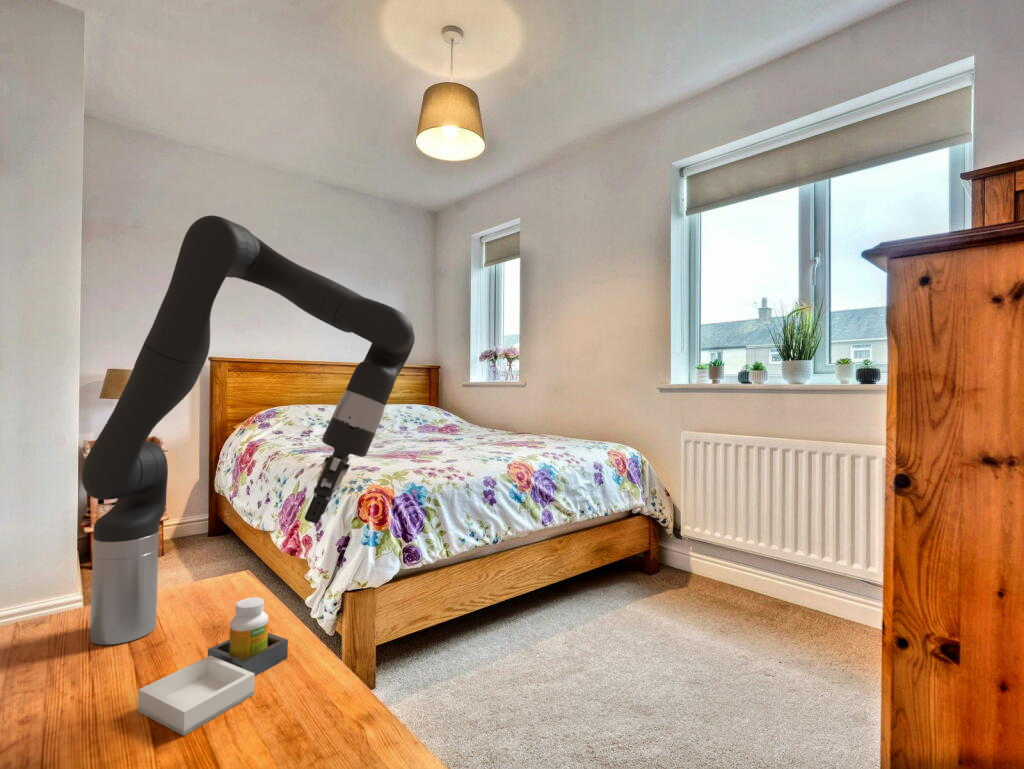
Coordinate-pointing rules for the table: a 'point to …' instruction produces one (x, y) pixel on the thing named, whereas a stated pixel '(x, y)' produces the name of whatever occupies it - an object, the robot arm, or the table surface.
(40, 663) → the table surface
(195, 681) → the tray
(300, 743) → the table surface
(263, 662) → the holder sleeve
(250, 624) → the supplement bottle
